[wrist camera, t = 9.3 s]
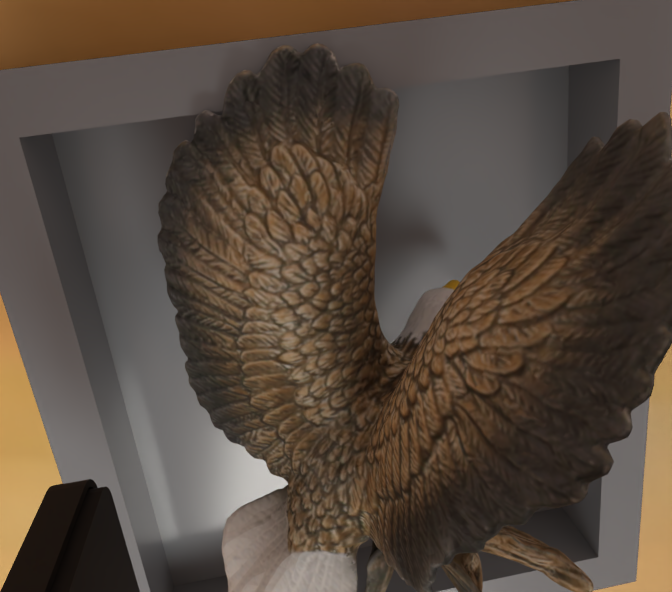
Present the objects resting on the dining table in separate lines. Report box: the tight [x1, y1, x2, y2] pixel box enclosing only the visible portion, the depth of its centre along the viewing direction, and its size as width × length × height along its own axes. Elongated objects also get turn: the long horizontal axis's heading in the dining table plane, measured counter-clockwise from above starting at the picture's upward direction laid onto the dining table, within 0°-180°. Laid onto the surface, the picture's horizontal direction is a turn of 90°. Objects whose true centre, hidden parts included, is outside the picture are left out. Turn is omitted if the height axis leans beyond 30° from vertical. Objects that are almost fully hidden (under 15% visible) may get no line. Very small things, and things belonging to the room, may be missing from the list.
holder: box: [0, 0, 672, 592], centre depth 14 cm, size 12×13×2 cm
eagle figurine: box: [158, 43, 672, 592], centre depth 10 cm, size 8×7×9 cm
